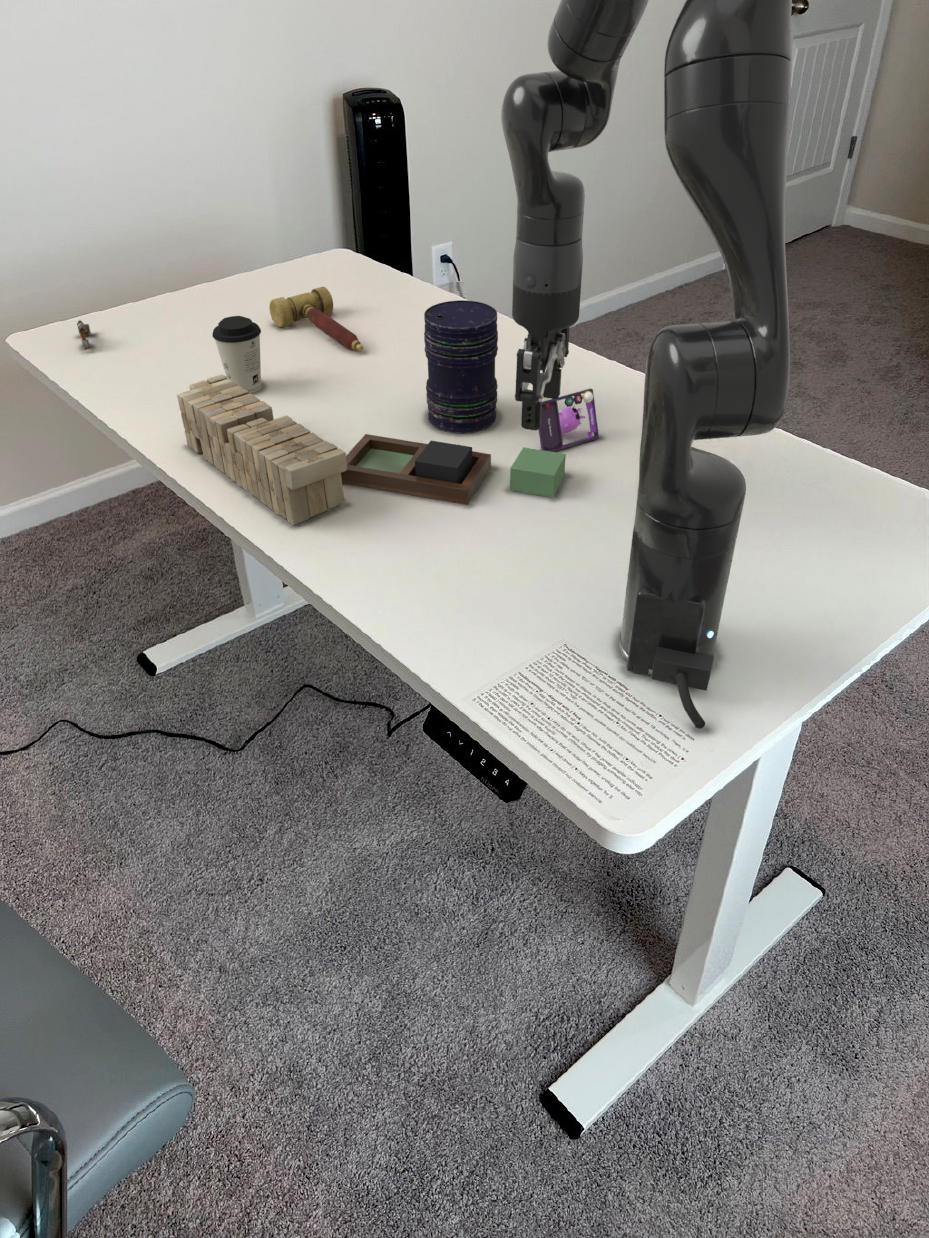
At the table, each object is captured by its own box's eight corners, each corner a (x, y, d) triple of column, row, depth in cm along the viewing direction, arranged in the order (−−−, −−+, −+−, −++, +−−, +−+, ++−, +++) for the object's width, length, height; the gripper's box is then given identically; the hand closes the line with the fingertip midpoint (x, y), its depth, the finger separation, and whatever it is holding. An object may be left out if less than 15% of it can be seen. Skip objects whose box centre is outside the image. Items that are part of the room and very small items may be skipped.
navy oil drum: (484, 397, 141) (484, 296, 131) (507, 427, 133) (509, 322, 124) (418, 407, 138) (414, 305, 129) (438, 438, 131) (435, 332, 122)
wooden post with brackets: (80, 350, 153) (73, 320, 152) (83, 352, 161) (76, 324, 159) (92, 348, 154) (84, 319, 152) (94, 350, 161) (88, 322, 160)
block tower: (183, 448, 131) (297, 532, 113) (170, 390, 126) (287, 468, 108) (234, 430, 135) (352, 508, 117) (223, 373, 130) (345, 446, 112)
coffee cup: (273, 393, 142) (264, 327, 136) (226, 401, 140) (215, 335, 134) (263, 374, 147) (254, 310, 141) (218, 382, 145) (206, 318, 139)
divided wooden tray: (467, 505, 118) (467, 490, 116) (336, 482, 122) (335, 467, 121) (491, 468, 124) (491, 454, 123) (366, 447, 129) (365, 433, 128)
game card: (539, 404, 124) (596, 388, 127) (518, 402, 128) (573, 386, 132) (546, 455, 126) (602, 438, 130) (526, 451, 131) (580, 435, 134)
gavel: (387, 327, 153) (333, 343, 148) (388, 354, 156) (335, 370, 151) (319, 282, 165) (267, 295, 160) (321, 308, 168) (270, 322, 163)
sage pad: (553, 498, 119) (554, 475, 117) (509, 490, 120) (510, 468, 118) (564, 476, 123) (565, 453, 121) (522, 469, 124) (523, 447, 122)
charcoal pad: (457, 490, 119) (457, 468, 117) (415, 483, 121) (414, 461, 119) (472, 469, 123) (472, 446, 121) (431, 462, 125) (430, 440, 123)
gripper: (563, 305, 99) (555, 445, 109) (595, 260, 109) (585, 391, 120) (494, 297, 101) (493, 435, 111) (532, 253, 111) (528, 383, 122)
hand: (541, 412), depth 116 cm, fingers open, 8 cm apart
